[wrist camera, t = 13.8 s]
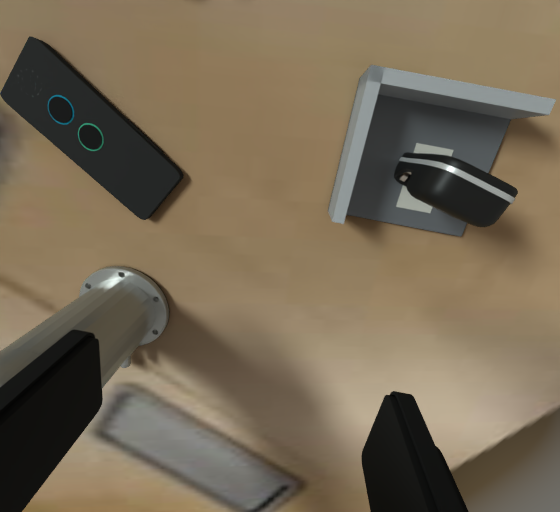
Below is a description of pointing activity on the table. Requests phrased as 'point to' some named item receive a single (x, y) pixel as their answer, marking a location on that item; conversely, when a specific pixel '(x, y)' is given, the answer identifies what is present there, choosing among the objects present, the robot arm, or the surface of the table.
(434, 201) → the battery charger
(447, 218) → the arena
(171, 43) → the table surface
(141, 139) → the smart home device
